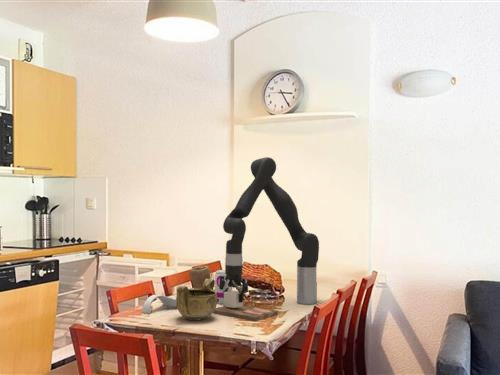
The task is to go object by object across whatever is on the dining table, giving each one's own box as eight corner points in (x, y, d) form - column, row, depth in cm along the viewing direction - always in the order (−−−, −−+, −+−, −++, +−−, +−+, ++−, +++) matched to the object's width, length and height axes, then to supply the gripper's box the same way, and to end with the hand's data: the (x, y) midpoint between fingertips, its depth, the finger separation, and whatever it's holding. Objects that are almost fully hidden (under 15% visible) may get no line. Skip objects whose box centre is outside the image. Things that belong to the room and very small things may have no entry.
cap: (232, 304, 233) (232, 290, 233) (243, 305, 229) (243, 292, 229) (223, 306, 228) (223, 292, 228) (234, 307, 224) (234, 293, 224)
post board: (234, 306, 238) (234, 290, 239) (277, 314, 224) (277, 296, 224) (210, 312, 226) (210, 295, 226) (255, 321, 211) (255, 302, 211)
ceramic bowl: (195, 311, 228) (196, 276, 229) (228, 316, 220) (229, 280, 220) (162, 321, 209) (163, 283, 209) (197, 327, 200) (198, 287, 201)
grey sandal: (172, 303, 246) (173, 288, 246) (192, 306, 239) (192, 291, 239) (135, 312, 226) (136, 295, 226) (156, 316, 219) (156, 298, 220)
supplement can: (229, 304, 243) (230, 272, 243) (212, 304, 245) (212, 271, 245) (233, 301, 251) (234, 270, 251) (217, 300, 252) (217, 269, 253)
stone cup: (184, 296, 262) (184, 266, 263) (198, 293, 272) (199, 264, 273) (209, 299, 254) (209, 268, 255) (222, 296, 265) (223, 266, 265)
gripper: (252, 264, 227) (251, 301, 227) (226, 261, 236) (226, 297, 236) (241, 266, 222) (240, 304, 221) (215, 263, 230) (215, 300, 230)
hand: (233, 301), depth 229 cm, fingers open, 8 cm apart
